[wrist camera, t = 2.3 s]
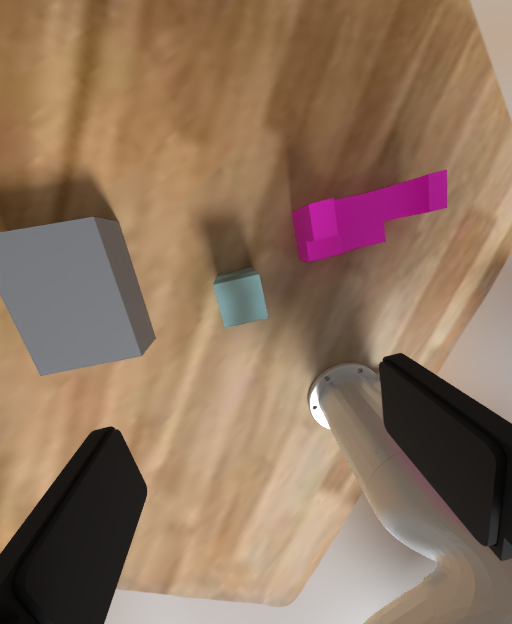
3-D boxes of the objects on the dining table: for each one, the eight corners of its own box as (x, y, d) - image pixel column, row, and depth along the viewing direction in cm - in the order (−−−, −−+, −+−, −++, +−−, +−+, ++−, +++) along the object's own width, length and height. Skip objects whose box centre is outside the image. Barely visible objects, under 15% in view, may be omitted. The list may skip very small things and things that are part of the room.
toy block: (299, 259, 33) (318, 264, 26) (291, 213, 32) (308, 203, 25) (401, 233, 34) (446, 231, 27) (398, 186, 32) (446, 169, 25)
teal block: (252, 267, 33) (259, 274, 25) (260, 301, 34) (268, 317, 27) (217, 275, 33) (213, 284, 25) (226, 309, 34) (225, 328, 27)
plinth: (119, 221, 30) (93, 216, 24) (156, 337, 35) (141, 356, 29) (22, 238, 30) (-29, 237, 24) (72, 353, 34) (40, 375, 28)
